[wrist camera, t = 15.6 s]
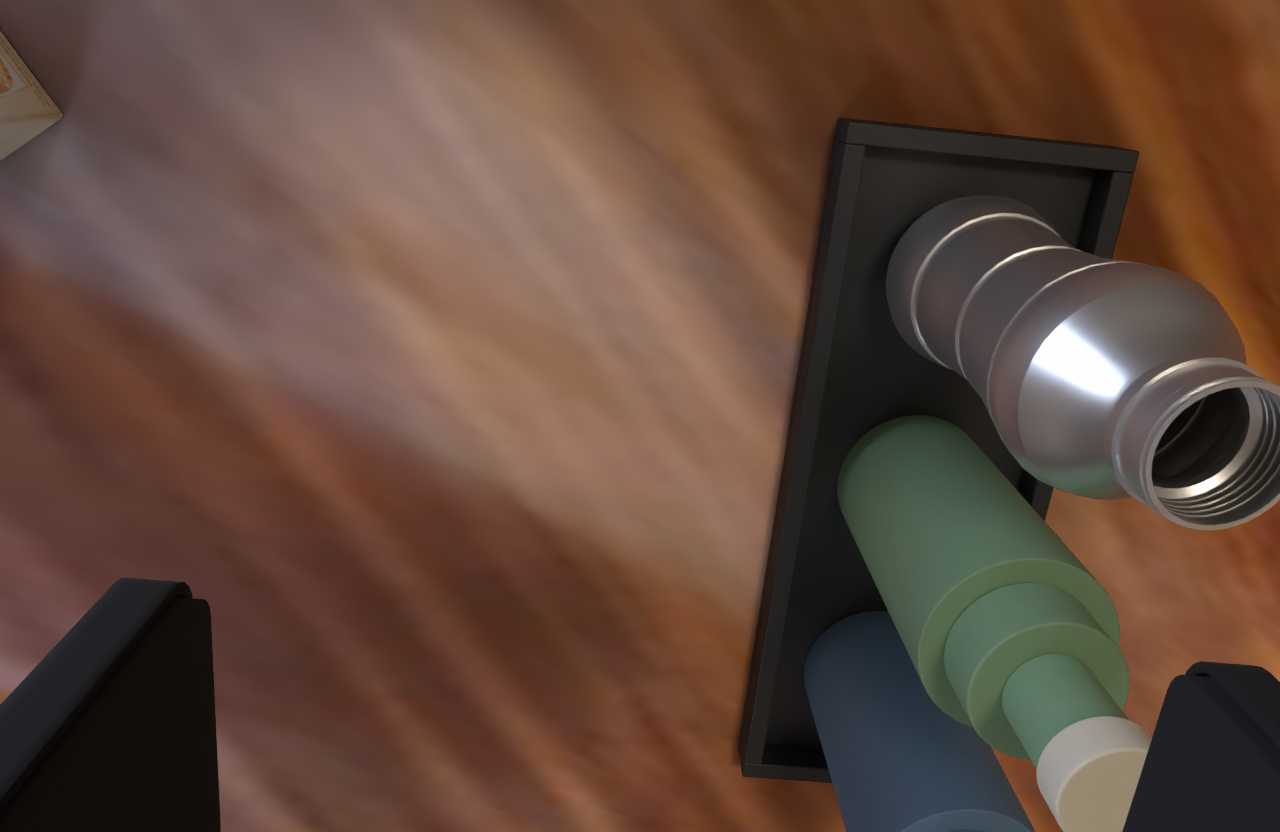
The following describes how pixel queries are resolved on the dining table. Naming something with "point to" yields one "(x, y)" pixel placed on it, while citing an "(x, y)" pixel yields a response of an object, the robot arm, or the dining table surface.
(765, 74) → the dining table surface
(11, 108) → the coffeecake box
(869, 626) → the blue bottle
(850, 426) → the tray
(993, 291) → the silver metal bottle
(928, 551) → the green bottle
